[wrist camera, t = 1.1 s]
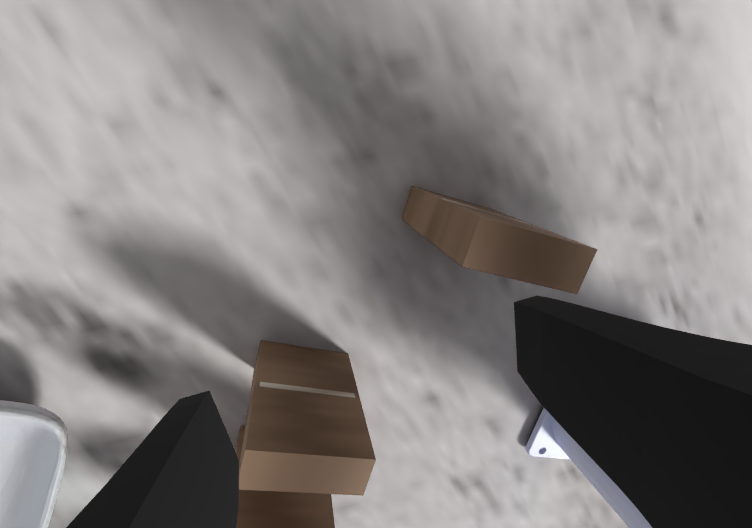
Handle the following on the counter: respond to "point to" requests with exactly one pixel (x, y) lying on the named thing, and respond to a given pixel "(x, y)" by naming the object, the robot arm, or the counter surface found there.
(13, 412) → the salad plate
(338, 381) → the domino
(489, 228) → the domino
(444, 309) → the counter surface
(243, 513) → the domino
